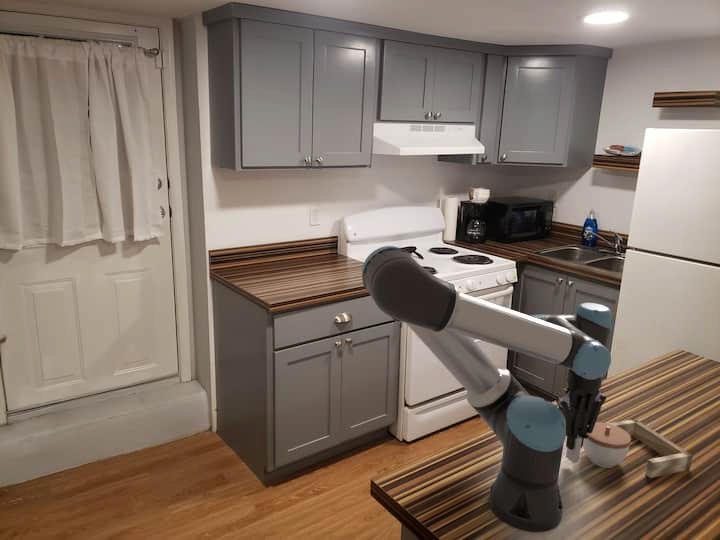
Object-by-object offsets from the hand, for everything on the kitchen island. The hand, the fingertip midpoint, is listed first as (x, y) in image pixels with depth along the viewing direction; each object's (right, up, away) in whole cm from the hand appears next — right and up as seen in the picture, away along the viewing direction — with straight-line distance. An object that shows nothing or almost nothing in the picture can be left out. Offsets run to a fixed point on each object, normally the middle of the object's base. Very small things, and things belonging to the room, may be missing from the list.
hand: (572, 459), depth 136 cm
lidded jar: (+9, -2, +4) cm, 10 cm away
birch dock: (+20, -1, +8) cm, 22 cm away
